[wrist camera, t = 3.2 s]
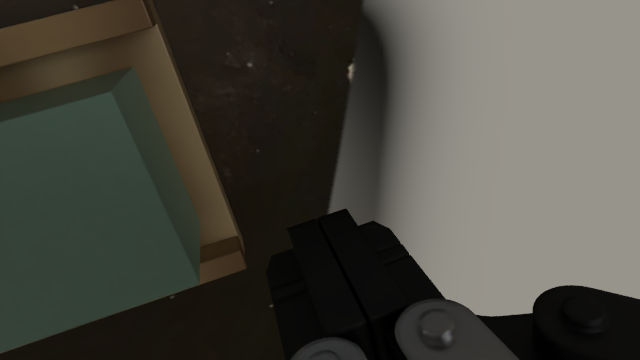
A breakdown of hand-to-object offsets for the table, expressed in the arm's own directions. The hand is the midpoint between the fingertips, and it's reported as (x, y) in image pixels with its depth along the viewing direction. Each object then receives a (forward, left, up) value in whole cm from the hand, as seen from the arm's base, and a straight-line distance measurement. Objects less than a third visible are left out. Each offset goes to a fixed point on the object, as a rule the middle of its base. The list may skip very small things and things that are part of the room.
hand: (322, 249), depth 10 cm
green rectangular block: (-6, -8, -11) cm, 15 cm away
